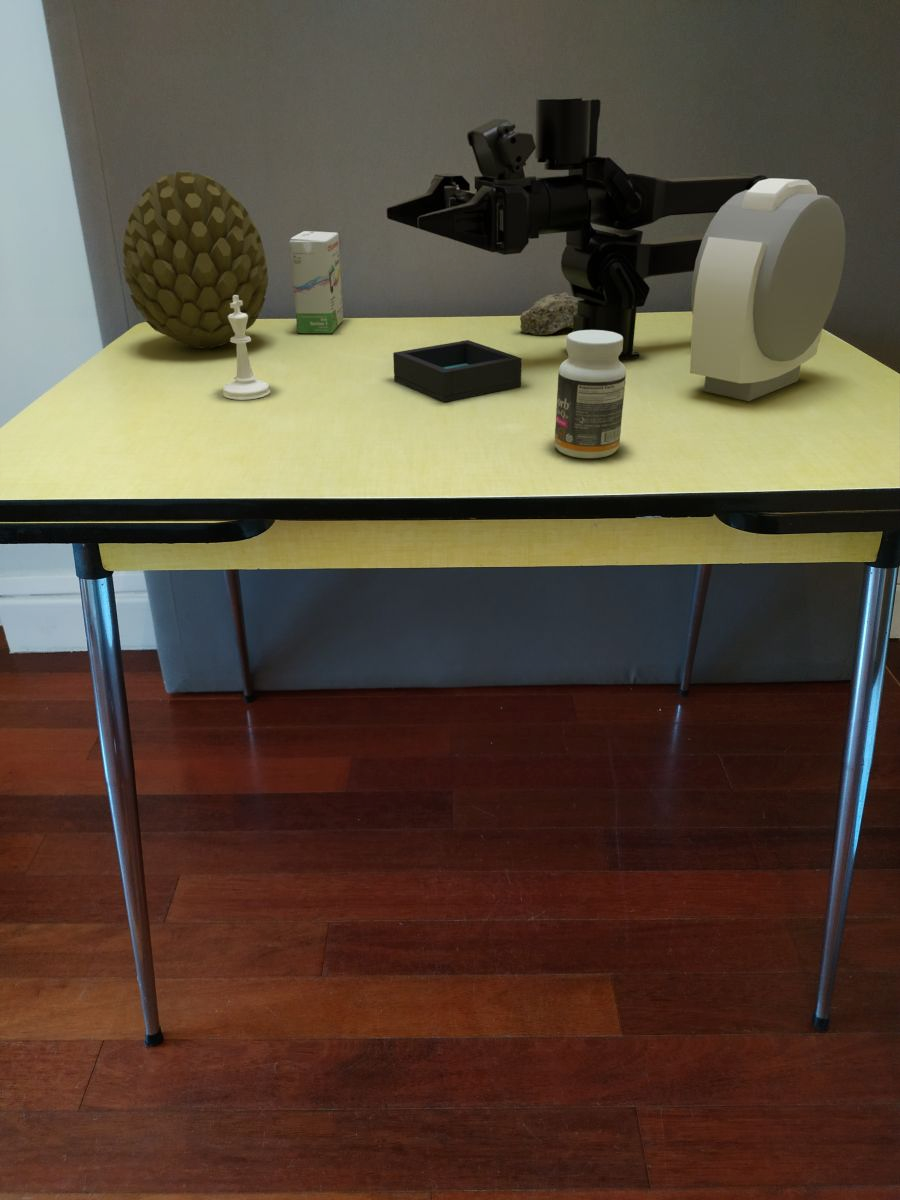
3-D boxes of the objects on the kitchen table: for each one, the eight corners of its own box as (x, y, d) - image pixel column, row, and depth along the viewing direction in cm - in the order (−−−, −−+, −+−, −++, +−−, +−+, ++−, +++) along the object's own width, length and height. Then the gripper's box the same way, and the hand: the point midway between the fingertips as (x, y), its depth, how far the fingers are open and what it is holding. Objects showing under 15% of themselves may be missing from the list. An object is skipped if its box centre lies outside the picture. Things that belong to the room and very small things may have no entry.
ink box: (332, 334, 120) (326, 239, 114) (296, 333, 121) (287, 239, 115) (344, 320, 128) (339, 230, 122) (310, 319, 128) (303, 230, 122)
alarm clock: (758, 363, 106) (788, 172, 96) (828, 377, 100) (868, 176, 91) (671, 395, 95) (695, 182, 85) (744, 412, 89) (779, 188, 80)
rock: (570, 338, 117) (572, 302, 115) (513, 333, 120) (514, 297, 118) (586, 327, 123) (588, 292, 121) (531, 322, 126) (532, 288, 123)
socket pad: (468, 366, 105) (468, 339, 104) (521, 386, 98) (522, 357, 97) (393, 380, 100) (392, 352, 99) (443, 402, 93) (443, 372, 92)
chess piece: (278, 388, 98) (269, 292, 93) (255, 401, 94) (244, 301, 89) (238, 384, 99) (227, 289, 94) (214, 397, 95) (200, 298, 90)
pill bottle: (548, 439, 83) (554, 328, 78) (610, 437, 83) (619, 327, 78) (560, 461, 78) (567, 344, 73) (626, 459, 78) (637, 342, 73)
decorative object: (287, 354, 111) (271, 174, 101) (144, 368, 106) (112, 179, 96) (260, 326, 125) (243, 165, 115) (132, 337, 119) (103, 169, 109)
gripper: (499, 120, 102) (367, 127, 97) (584, 124, 87) (432, 132, 82) (499, 227, 107) (374, 238, 102) (579, 248, 92) (437, 262, 87)
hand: (402, 217), depth 93 cm, fingers open, 9 cm apart
